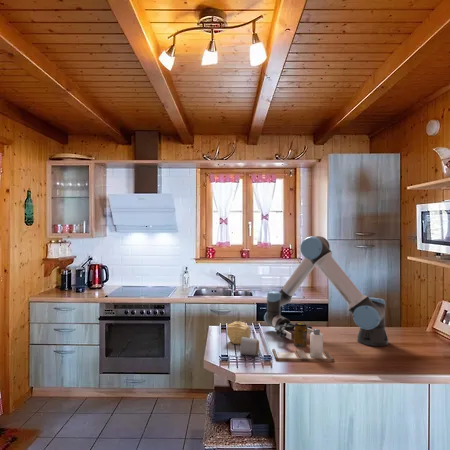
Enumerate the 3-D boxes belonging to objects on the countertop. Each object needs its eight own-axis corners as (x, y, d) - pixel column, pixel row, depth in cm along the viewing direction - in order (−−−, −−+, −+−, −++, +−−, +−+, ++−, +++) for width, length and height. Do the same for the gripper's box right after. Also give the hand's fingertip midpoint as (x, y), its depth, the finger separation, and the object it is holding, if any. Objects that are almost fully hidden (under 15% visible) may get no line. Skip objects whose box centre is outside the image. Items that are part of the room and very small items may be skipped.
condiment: (303, 345, 179) (304, 321, 180) (311, 350, 171) (311, 325, 171) (290, 346, 178) (290, 321, 178) (297, 351, 170) (297, 326, 170)
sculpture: (224, 344, 178) (224, 322, 178) (232, 337, 189) (233, 317, 189) (245, 347, 174) (246, 325, 174) (253, 340, 185) (253, 319, 185)
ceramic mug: (257, 358, 160) (258, 340, 160) (239, 356, 162) (240, 339, 162) (259, 350, 171) (260, 334, 171) (242, 349, 172) (243, 333, 172)
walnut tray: (326, 355, 165) (326, 349, 165) (334, 364, 153) (334, 359, 153) (272, 354, 166) (272, 348, 166) (275, 363, 154) (276, 358, 154)
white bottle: (320, 354, 163) (321, 327, 163) (324, 358, 157) (324, 331, 157) (308, 353, 163) (309, 327, 163) (311, 358, 157) (311, 331, 157)
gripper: (301, 329, 197) (324, 340, 177) (260, 332, 188) (279, 345, 168) (302, 315, 197) (324, 325, 177) (260, 318, 188) (280, 329, 168)
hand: (303, 335), depth 172 cm, fingers open, 13 cm apart
